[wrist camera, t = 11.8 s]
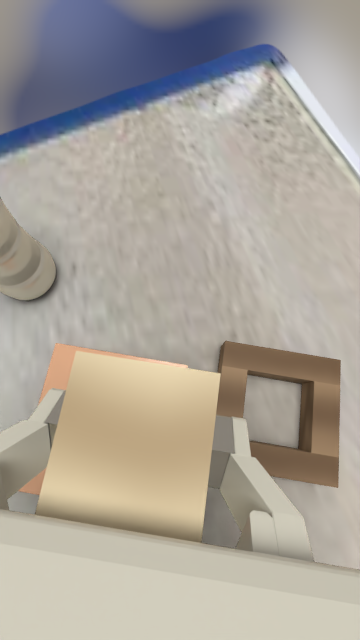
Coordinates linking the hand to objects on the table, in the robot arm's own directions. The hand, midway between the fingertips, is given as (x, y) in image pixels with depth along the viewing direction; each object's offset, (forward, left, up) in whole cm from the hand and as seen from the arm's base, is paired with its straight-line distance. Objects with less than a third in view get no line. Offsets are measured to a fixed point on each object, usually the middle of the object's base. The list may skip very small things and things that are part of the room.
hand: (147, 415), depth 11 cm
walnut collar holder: (+2, -11, -21) cm, 24 cm away
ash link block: (-1, 0, -4) cm, 5 cm away
